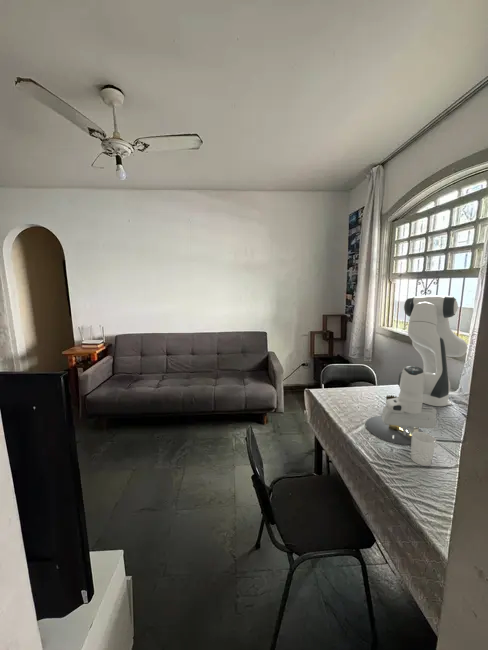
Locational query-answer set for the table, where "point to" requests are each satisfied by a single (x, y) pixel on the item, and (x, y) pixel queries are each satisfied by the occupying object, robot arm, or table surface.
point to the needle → (402, 429)
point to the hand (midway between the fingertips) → (406, 434)
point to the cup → (390, 397)
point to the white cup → (422, 448)
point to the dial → (387, 431)
